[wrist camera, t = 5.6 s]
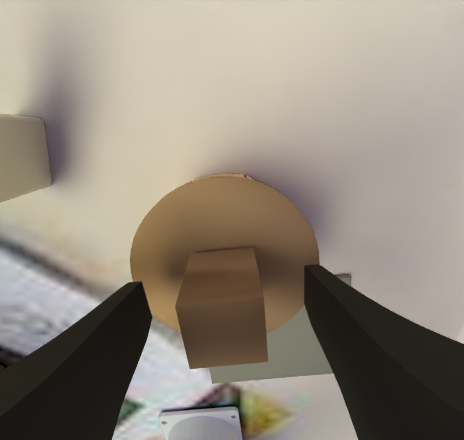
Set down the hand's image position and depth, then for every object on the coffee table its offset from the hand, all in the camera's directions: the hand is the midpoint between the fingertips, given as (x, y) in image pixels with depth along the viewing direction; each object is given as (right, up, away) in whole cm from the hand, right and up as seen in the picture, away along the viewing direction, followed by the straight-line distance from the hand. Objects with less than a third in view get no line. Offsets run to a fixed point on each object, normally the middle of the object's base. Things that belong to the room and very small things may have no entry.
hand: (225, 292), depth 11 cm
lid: (0, +1, +2) cm, 3 cm away
